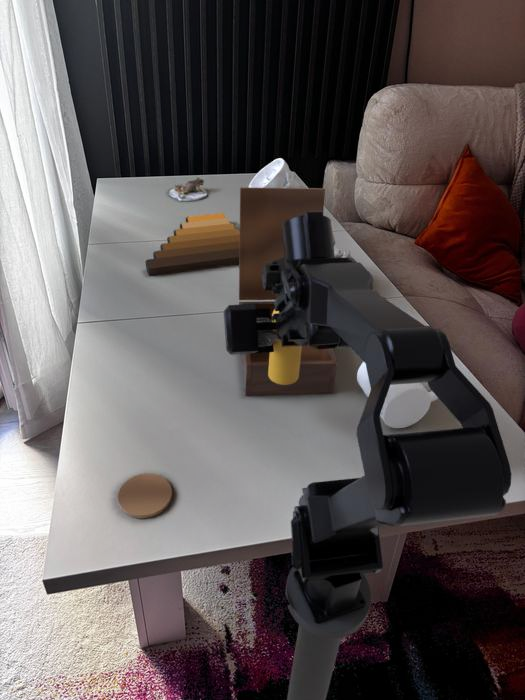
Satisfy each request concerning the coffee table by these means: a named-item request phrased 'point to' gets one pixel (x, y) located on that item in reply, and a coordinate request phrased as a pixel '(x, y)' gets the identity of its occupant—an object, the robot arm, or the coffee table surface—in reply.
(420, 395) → the mug
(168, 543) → the coffee table surface
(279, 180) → the skull bowl
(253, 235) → the chest lid
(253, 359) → the chest
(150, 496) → the coaster
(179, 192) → the frog figurine
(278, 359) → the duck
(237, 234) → the pan flute
